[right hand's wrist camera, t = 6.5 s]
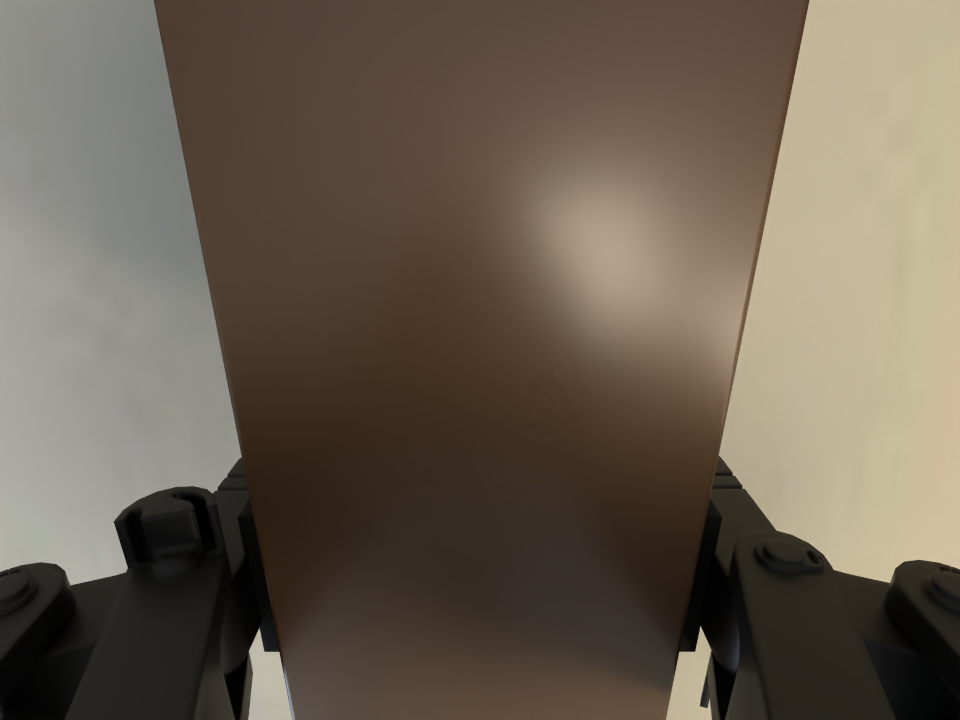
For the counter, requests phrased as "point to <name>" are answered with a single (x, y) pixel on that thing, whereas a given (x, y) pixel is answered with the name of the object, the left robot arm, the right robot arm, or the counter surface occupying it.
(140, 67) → the counter surface
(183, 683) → the right robot arm
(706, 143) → the bar
